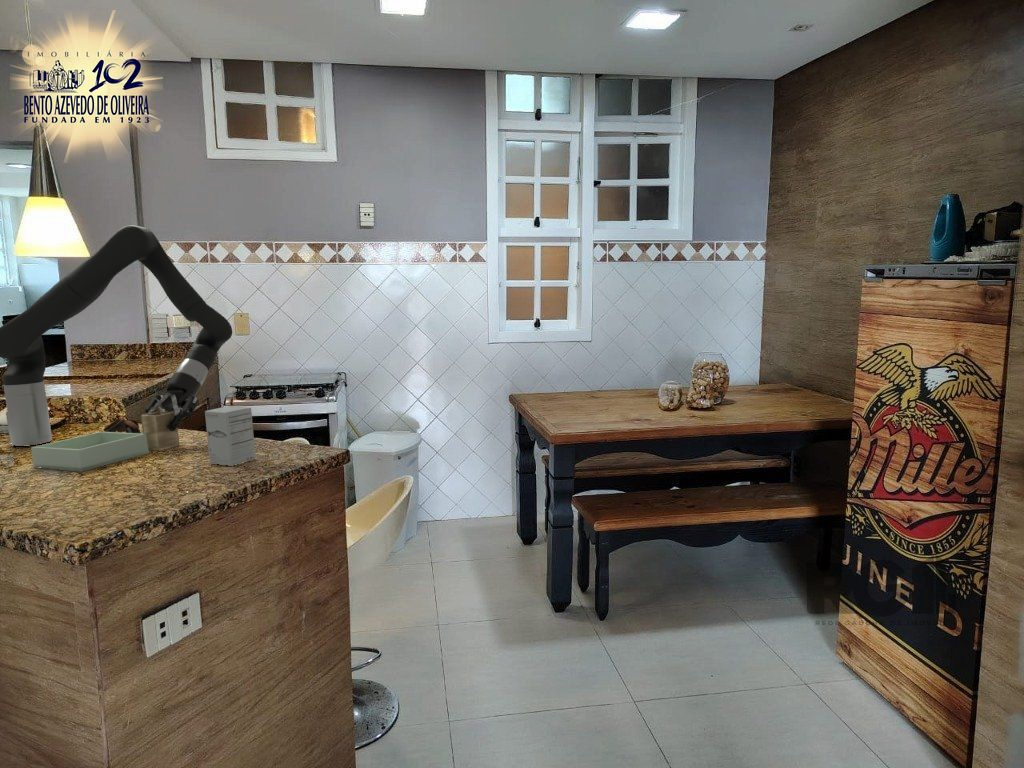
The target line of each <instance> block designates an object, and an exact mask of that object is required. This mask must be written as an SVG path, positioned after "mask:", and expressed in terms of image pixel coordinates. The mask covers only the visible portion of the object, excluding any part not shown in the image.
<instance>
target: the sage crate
mask: <svg viewBox="0 0 1024 768" xmlns="http://www.w3.org/2000/svg"><path fill="white" fill-rule="evenodd" d="M30 449H31V450H30V451H31V457H32V464H33V468H34V467H41V468H49V469H48V470H53V469H59V470H58V471H66V470H68V472H70V471H71V472H86V471H89V470H90V471H91V470H93V469H97V468H100V467H104V466H108V465H111V464H115V463H117V462H122V461H125V460H129V459H132V458H136V457H140V456H144V455H146V454H147V455H148V454H149V450H148V444H147V436H146V434H143V433H141V434H140V433H126V432H117V431H116V432H104V431H103V432H101V431H98V432H93V433H87V434H84V435H80V436H79V435H78V436H76V437H71V438H67V439H66V438H65V439H63V440H57V441H54V442H53V441H52V442H50V443H46V444H42V445H36V446H30Z"/></svg>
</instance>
